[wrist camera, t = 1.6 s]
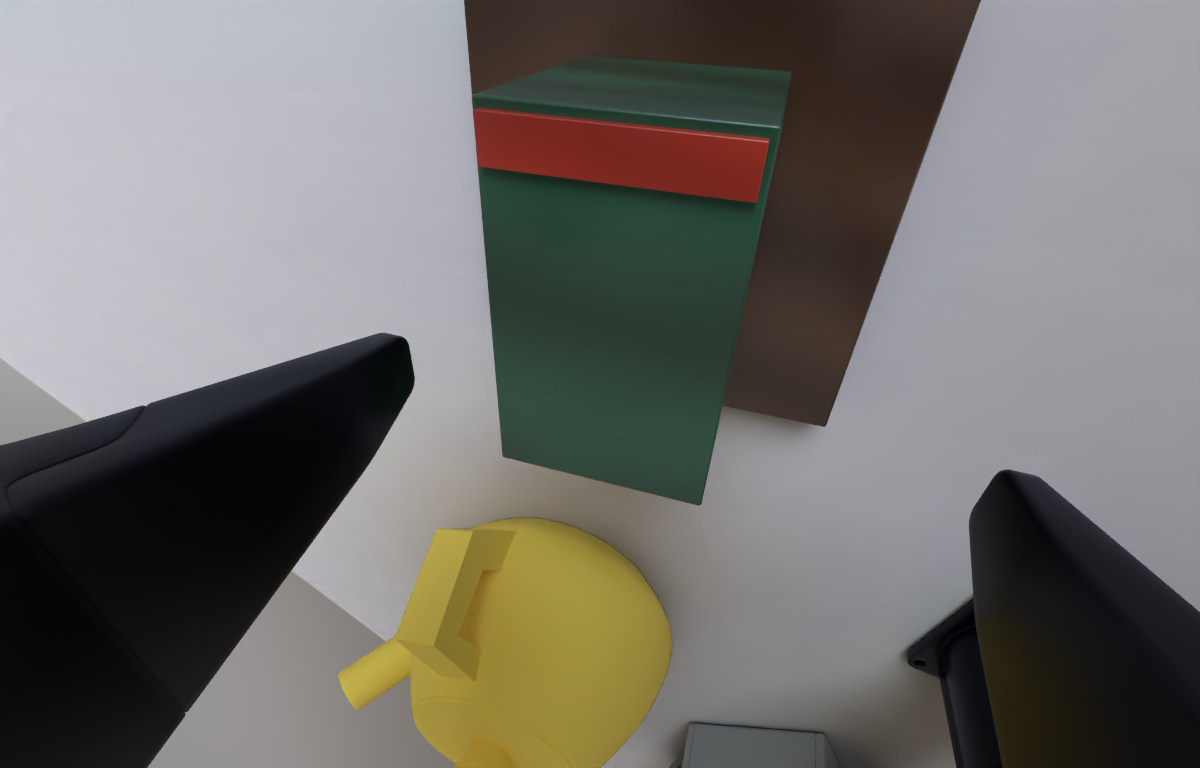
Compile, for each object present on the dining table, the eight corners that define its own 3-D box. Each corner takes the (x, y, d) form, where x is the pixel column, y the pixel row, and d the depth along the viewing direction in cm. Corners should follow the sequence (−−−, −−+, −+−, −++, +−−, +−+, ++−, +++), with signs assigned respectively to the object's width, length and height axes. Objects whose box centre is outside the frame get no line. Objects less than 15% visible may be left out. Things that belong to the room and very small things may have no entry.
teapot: (337, 466, 33) (172, 635, 25) (625, 453, 26) (534, 688, 17) (473, 664, 43) (389, 835, 34) (712, 696, 35) (681, 924, 27)
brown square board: (824, 403, 21) (825, 427, 20) (509, 340, 24) (493, 358, 23) (972, -17, 14) (987, -17, 12) (484, -39, 16) (459, -42, 15)
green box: (730, 362, 20) (699, 514, 14) (581, 333, 21) (498, 463, 15) (792, 71, 14) (782, 128, 9) (588, 54, 16) (463, 95, 10)
